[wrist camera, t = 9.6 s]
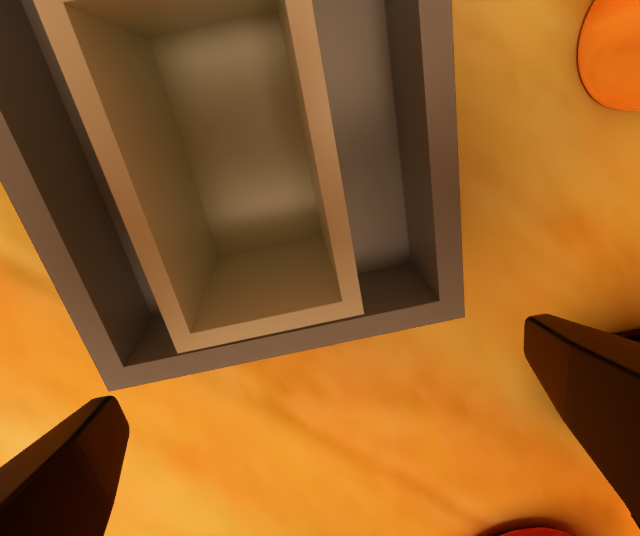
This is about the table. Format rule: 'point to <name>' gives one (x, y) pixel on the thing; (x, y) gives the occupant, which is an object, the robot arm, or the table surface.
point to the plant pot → (537, 532)
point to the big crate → (355, 167)
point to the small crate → (216, 157)
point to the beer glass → (612, 53)
